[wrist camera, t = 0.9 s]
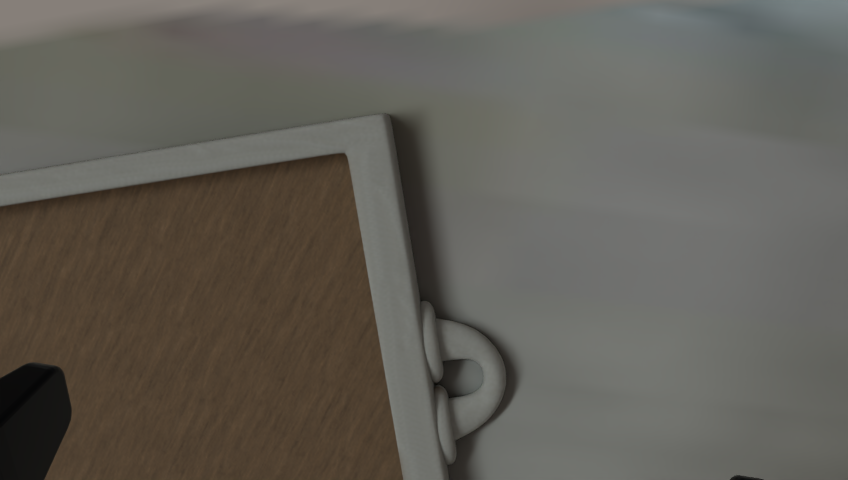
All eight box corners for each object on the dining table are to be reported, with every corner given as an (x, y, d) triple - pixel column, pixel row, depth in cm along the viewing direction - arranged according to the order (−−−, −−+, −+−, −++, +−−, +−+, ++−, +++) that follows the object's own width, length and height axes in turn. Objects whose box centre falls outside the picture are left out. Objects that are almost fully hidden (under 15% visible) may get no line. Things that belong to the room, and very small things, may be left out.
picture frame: (-378, 235, 25) (466, 98, 23) (-328, 228, 27) (466, 100, 25) (-221, 713, 28) (544, 631, 26) (-185, 682, 30) (539, 602, 28)
